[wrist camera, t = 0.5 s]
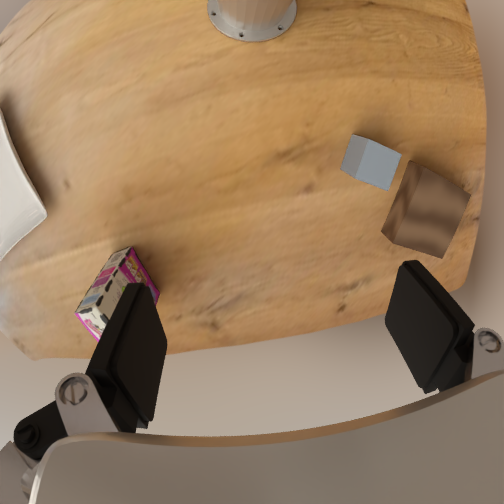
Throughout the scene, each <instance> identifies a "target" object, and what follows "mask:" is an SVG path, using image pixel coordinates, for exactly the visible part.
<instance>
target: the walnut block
mask: <svg viewBox="0 0 504 504" xmlns="http://www.w3.org/2000/svg"><path fill="white" fill-rule="evenodd" d="M470 196H471V194H469V193H468V192H466V191H464V190H463V189H461V188H460V187H458V186H456V185H455V184H453V183H451V182H450V181H448V180H446V179H445V178H443V177H441V176H440V175H438V174H436V173H434V172H433V171H431V170H429V169H427V168H425V167H423V166H421V165H419V164H416V163H414V162H412V161H409V163H408V166H407V168H406V171H405V174H404V176H403V179H402V182H401V184H400V187H399V190H398V192H397V195H396V197H395V200H394V202H393V205H392V207H391V209H390V212H389V214H388V217H387V219H386V221H385V223H384V226H383V228H382V230H381V232H382V233H383V234H384V235H385V236H386V237H387V238H388V239H389V240H390V241H391V242H392V243H393V244H397V245H400V246H403V247H407V248H410V249H413V250H416V251H419V252H423V253H426V254H429V255H432V256H435V257H438V258H441V259H442V258H443V256H444V254H445V252H446V250H447V248H448V246H449V244H450V242H451V240H452V238H453V236H454V234H455V232H456V229H457V227H458V225H459V223H460V221H461V218H462V216H463V214H464V211H465V209H466V206H467V204H468V201H469V199H470Z"/></svg>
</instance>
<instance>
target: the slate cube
mask: <svg viewBox="0 0 504 504" xmlns="http://www.w3.org/2000/svg"><path fill="white" fill-rule="evenodd" d="M401 155H402V154H400V153H398V152H396V151H394V150H392V149H390V148H387V147H385V146H383V145H381V144H379V143H377V142H374V141H372V140H370V139H367V138H364V137H361V136H357V135H353V134H352V136H351V139H350V142H349V145H348V148H347V151H346V154H345V157H344V159H343V162H342V165H341V168H340V169H341V170H343V171H344V172H346V173H347V174H349V175H350V176H352V177H353V178H355V179H358V180H360V181H363V182H366V183H368V184H371V185H374V186H376V187H379V188H381V189H384V190H386V191H388V190H389V187H390V185H391V182H392V179H393V177H394V174H395V171H396V169H397V166H398V163H399V160H400V158H401Z"/></svg>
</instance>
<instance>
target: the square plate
mask: <svg viewBox="0 0 504 504" xmlns="http://www.w3.org/2000/svg"><path fill="white" fill-rule="evenodd" d="M47 216H48V214H47V211H46V208H45V206H44V204H43V202H42V200H41V198H40V196H39V195H38V193H37V191H36V189H35V187H34V185H33V184H32V182H31V180H30V178H29V177H28V175H27V173H26V171H25V169H24V167H23V165H22V163H21V161H20V159H19V156H18V154H17V152H16V150H15V147H14V145H13V142H12V140H11V137H10V134H9V131H8V128H7V125H6V122H5V119H4V116H3V113H2V111H1V108H0V261H1V260H2V259H3V258H4V256H5V255H6V254H7V253H8V252H9V251H10V250H11V249H12V248H13V247H14V246H15V245H16V244H17V243H18V242H19V241H20V240H21V239H22V238H23V237H25V236H26V235H27V234H28V233H29V232H31V231H32V230H33V229H34V228H35V227H37V226H38V225H39V224H40V223H41V222H42V221H44V220H45V219H46V217H47Z"/></svg>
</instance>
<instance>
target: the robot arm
mask: <svg viewBox="0 0 504 504" xmlns="http://www.w3.org/2000/svg"><path fill="white" fill-rule="evenodd" d="M207 11H208V15H209V18H210V20H211V22H212V24H213V25H214V26H215V28H217V29H218V30H219V31H220V32H221V33H223V34H224V35H226V36H228V37H230V38H232V39H235V40H239V41H243V42H262V41H267V40H270V39H273V38H276V37H278V36H279V35H281V34H283V33H284V32H285V31H286V30H287V29H288V28H289V27H290V26H291V24H292V23H293V21H294V19H295V16H296V13H297V5H296V0H208V3H207ZM213 14H216V15H215V16H213ZM278 28H281V30H278ZM240 35H243V36H244V37H240ZM385 325H386V327H387V329H388V331H389V332H390V334H391V336H392V337H393V339H394V341H395V343H396V345H397V346H398V348H399V350H400V352H401V354H402V356H403V358H404V360H405V361H406V363H407V365H408V367H409V369H410V371H411V373H412V375H413V377H414V379H415V381H416V383H417V384H418V386H419V387H420V388H422V389H423V391H424V393H425V394H427V393H430V392H432V391H435V390H436V389H437V388H438V389H439V393H438V394H435V395H433V396H430V397H428V398H425V399H422V400H419V401H417V402H414V403H411V404H408V405H405V406H402V407H399V408H395V409H392V410H389V411H385V412H382V413H378V414H375V415H371V416H367V417H363V418H359V419H355V420H351V421H346V422H342V423H337V424H332V425H327V426H322V427H316V428H310V429H303V430H297V431H290V432H281V433H271V434H261V435H248V436H247V435H246V436H220V437H197V436H195V437H193V436H166V435H152V434H139V433H136V428H145V429H147V428H148V422H149V421H152V420H153V418H154V412H155V406H156V401H157V395H158V390H159V385H160V379H161V374H162V369H163V365H164V360H165V355H166V350H167V339H166V336H165V333H164V330H163V327H162V324H161V321H160V318H159V315H158V312H157V309H156V306H155V303H154V300H153V296H152V293H151V290H150V287H149V286H145V284H144V283H143V282H137V283H128V284H127V285H126V287H125V289H124V291H123V293H122V295H121V297H120V299H119V301H118V303H117V305H116V307H115V309H114V311H113V313H112V316H111V318H110V319H109V321H108V322H107V324H106V326H105V328H104V331H103V333H102V335H101V337H100V340H99V342H98V344H97V346H96V349H95V351H94V353H93V356H92V358H91V360H90V363H89V365H88V368H87V370H86V373H85V374H83V373H72V374H69V375H67V376H66V377H64V378H63V379H62V380H61V381H60V382H59V383H58V385H57V387H56V390H55V399H56V400H55V401H53V402H52V403H50V404H48V405H47V406H45V407H43V408H42V409H40V410H38V411H36V412H34V413H33V414H31V415H29V416H28V417H26V418H24V419H23V420H21V421H20V422H19V423H18V425H17V426H16V428H15V430H14V442H13V443H12V442H11V441H9V442H8V443H7V444H6V446H4V447H3V449H2V450H1V451H0V504H504V342H503V340H502V338H501V337H500V336H499V334H498V333H496V332H495V331H494V330H491V329H489V328H480V329H478V330H477V331H476V332H475V334H474V333H473V332H472V330H473V328H474V326H475V324H474V323H473V322H472V321H471V319H470V318H469V317H468V316H467V314H466V313H465V312H464V311H463V310H462V309H461V307H460V306H459V305H458V304H457V302H456V301H455V300H454V299H453V298H452V297H451V296H450V294H449V293H448V292H447V291H446V290H445V289H444V288H443V286H442V285H441V284H440V283H439V282H438V281H437V280H436V279H435V278H434V277H433V276H432V274H431V273H430V272H429V271H428V270H427V269H426V268H425V267H424V266H423V265H422V264H421V263H420V262H419V261H418V260H410V261H404V262H403V263H402V265H401V266H400V267H399V269H398V273H397V277H396V281H395V285H394V289H393V292H392V296H391V299H390V303H389V306H388V310H387V313H386V316H385Z"/></svg>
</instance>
